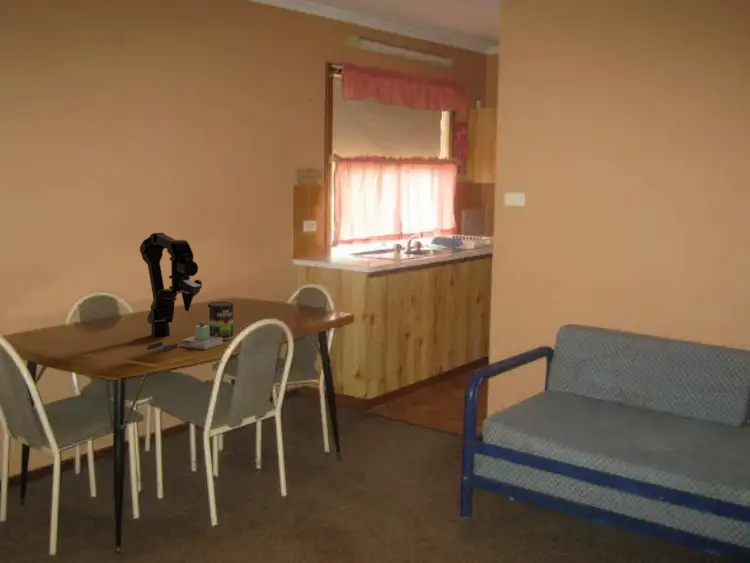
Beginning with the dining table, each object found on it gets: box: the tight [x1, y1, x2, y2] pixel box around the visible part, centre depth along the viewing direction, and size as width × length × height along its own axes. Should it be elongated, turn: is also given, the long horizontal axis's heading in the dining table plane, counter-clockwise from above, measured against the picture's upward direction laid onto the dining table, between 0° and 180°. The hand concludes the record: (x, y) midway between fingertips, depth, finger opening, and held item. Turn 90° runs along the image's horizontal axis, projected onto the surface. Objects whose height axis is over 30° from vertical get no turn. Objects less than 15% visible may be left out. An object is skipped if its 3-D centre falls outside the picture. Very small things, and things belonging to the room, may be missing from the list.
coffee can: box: [207, 301, 234, 341], centre depth 332 cm, size 10×10×14 cm
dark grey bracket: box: [147, 340, 179, 352], centre depth 309 cm, size 9×6×2 cm, turn 66°
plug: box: [194, 321, 210, 341], centre depth 314 cm, size 4×4×10 cm
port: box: [181, 335, 223, 350], centre depth 315 cm, size 11×11×4 cm
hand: (179, 313), depth 315 cm, fingers open, 9 cm apart
